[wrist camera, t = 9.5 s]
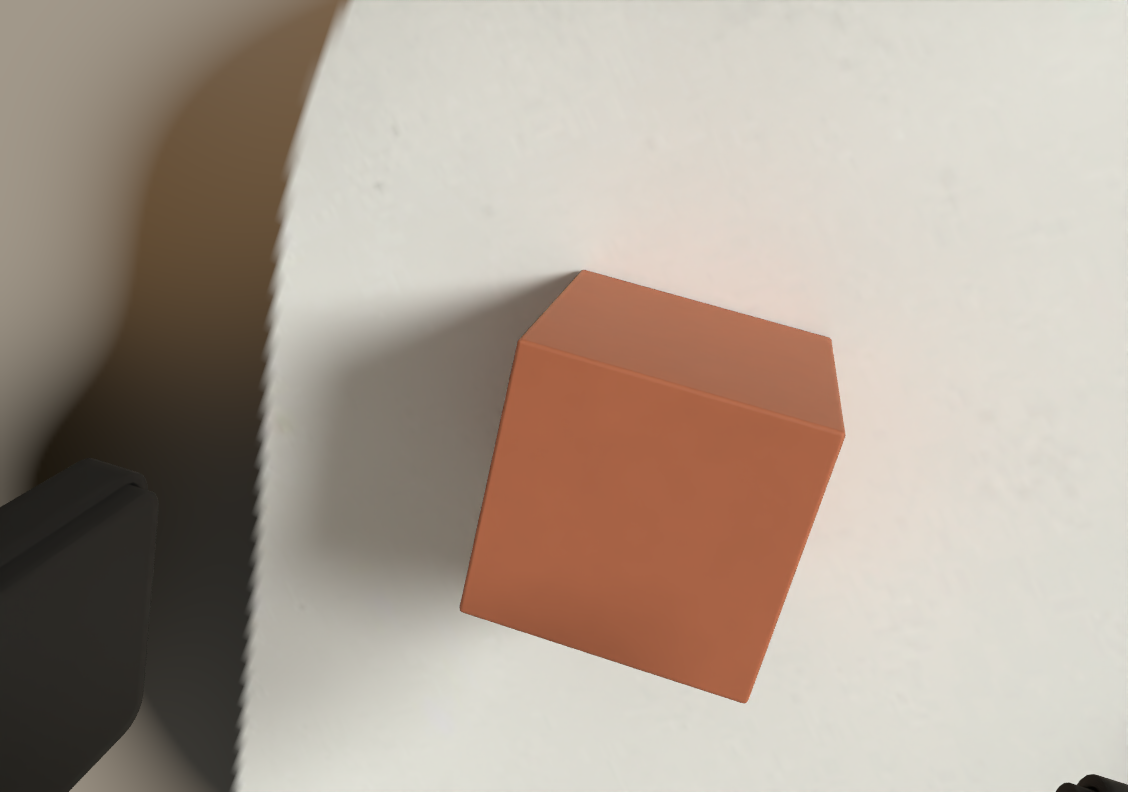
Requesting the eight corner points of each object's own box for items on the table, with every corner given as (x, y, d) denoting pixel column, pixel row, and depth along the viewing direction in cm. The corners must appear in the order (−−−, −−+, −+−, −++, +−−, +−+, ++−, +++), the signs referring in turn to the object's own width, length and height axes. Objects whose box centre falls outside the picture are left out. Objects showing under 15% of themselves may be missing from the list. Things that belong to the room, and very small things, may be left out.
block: (581, 268, 17) (517, 338, 13) (832, 338, 16) (846, 433, 12) (529, 488, 19) (458, 612, 15) (756, 558, 18) (746, 706, 14)
